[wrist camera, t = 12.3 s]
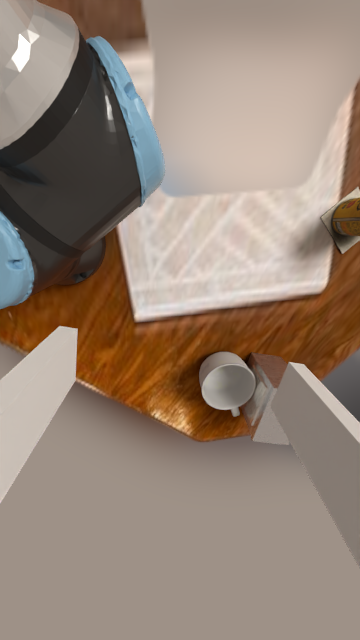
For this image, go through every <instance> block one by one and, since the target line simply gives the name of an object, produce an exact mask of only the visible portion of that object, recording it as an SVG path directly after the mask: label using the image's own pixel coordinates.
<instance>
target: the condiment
mask: <svg viewBox="0 0 360 640" xmlns="http://www.w3.org/2000/svg"><path fill="white" fill-rule="evenodd" d="M321 218H322V220H323V222H324V224H325V226H326V227H327V229H328V231H329V232H330V234H331V236H332V237H333V239H334V240H335V242H336V244H337V246H338V247H339V249H340V250H341V252H342V254H343V253H344V252H345V251H346V250H348V249H349V248H350V247H351V246H353V245H354V244H355V243H356V242H358V241H359V240H360V191H359V188H358V187H357V188H356V189H355V190H353V191H352V192H351V193H350V194H348V195H347V196H346V197H345V198H343V199H342V200H341V201H340V202H338V203H337V204H336V205H335V206H334V207H332V208H331V209H330V210H329V211H328V212H327V213H325V214H324V215H323V216H322V217H321Z"/></svg>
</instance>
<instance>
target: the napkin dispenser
mask: <svg viewBox="0 0 360 640" xmlns="http://www.w3.org/2000/svg"><path fill="white" fill-rule="evenodd" d="M247 367H248V368H249V369H250V370H251V371H252V373H253V374H254V376H255V379H256V388H255V391H254V393H253V395H252V397H251V398H250V399H249V400H248V401H247V402H246V403H244V404H243V405H241V406H240V407H241V410H242V412H243V415H244V417H245V420H246V423H247V425H248V428H249V430H250V433H251V435H252V436H251V439H252V441H257V442H266V443H275V444H283V445H289V443H290V441H289V440H288V438H287V436H286V434H285V432H284V430H283V429H282V427H281V425H280V423H279V421H278V420H277V418H276V416H275V414H274V412H273V411H272V409H271V407H270V406H271V403H272V401H273V399H274V396H275V394H276V392H277V389H278V387H279V384H280V382H281V380H282V377H283V375H284V373H285V370H286V368H287V364H286V363H285V361H284V360H283V359H282V358H281V357H277V356H271V355H264V354H258V353H252V352H251V355H250V357H249V360H248V363H247Z"/></svg>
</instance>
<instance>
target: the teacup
mask: <svg viewBox="0 0 360 640" xmlns="http://www.w3.org/2000/svg"><path fill="white" fill-rule="evenodd" d="M199 381H200V386H201V391H202V396H203V398H204V400H205V401H206V402H207V404H209V405H210V406H212V407H213V408H216V409H220V410H228V409H231V412H232V415H233V416H238V415H240V412H239V409H238V407H239V406H241V405H243V404H244V403H246V402H247V401H248V400H249V399H250V398H251V397H252V395H253V393H254V391H255V388H256V379H255V376H254V374H253V373H252V371H251V370H250V369H249V368H248V367H247V365H246V364H245V363H244V361H243V360H242V359H241V358H240V357H239V356H237V355H235V354H233V353H230V352H218V353H215V354H212V355H210V356H209V357H208V358H207V359H205V361H204V362H203V363H202V365H201V367H200V371H199Z"/></svg>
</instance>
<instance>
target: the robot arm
mask: <svg viewBox="0 0 360 640" xmlns="http://www.w3.org/2000/svg"><path fill="white" fill-rule="evenodd" d="M164 175H165V162H164V157H163V153H162V149H161V146H160V143H159V140H158V137H157V134H156V131H155V129H154V126H153V124H152V121H151V119H150V116H149V114H148V112H147V110H146V107H145V105H144V103H143V101H142V99H141V97H140V96H139V95H138V94H137V93H136V90H135V87H134V85H133V83H132V80H131V78H130V76H129V74H128V72H127V70H126V68H125V66H124V64H123V63H122V61H121V59H120V58H119V56H118V55H117V53H116V52H115V51H114V49H113V48H112V47H111V45H110V44H109V43H108V42H107V41H106V40H105V39H103V38H102V37H100V36H97V37H95V38H89V39H87V40H86V41H85V39H84V38H83V36H82V34H81V32H80V31H79V29H78V27H77V25H76V24H75V22H74V20H73V19H72V17H71V16H70V15H68V14H67V13H64V12H62V11H59V10H57V9H54V8H51V7H49V6H46V5H44V4H41V3H39V2H38V1H37V0H0V309H3V308H6V307H8V306H11V305H18V304H19V303H22V302H23V301H25V300H26V299H27V298H28V297H30V296H32V295H34V294H36V293H38V292H39V291H41V290H43V289H45V288H47V287H49V286H51V285H53V284H58V285H71V284H76V283H79V282H82V281H84V280H85V279H87V278H89V277H90V276H91V275H93V274H94V273H95V272H96V271H97V270H98V268H99V267H100V265H101V263H102V261H103V259H104V255H105V248H106V243H105V235H106V234H107V233H108V232H109V231H111V230H112V229H113V228H114V227H115V226H116V225H118V224H119V223H120V222H121V221H122V220H123V219H125V218H126V217H127V216H128V215H129V214H130V213H132V212H133V211H134V210H135V209H136V208H137V207H141V206H142V205H143V204H144V202H145V200H146V199H147V198H148V197H149V196H150V195H151V194H152V193H153V192H154V191H155V190H156V189H157V188H158V187H159V186H160V185H161V183H162V180H163V177H164ZM77 330H78V329H75V328H69V327H62V326H59V327H58V328H57V329H56V330H55V331H54V332H52V333H51V334H50V335H49V336H48V337H47V338H46V339H45V340H44V341H43V342H42V343H40V344H39V345H38V346H37V347H36V348H35V349H34V350H33V351H32V352H31V353H30V354H28V355H27V356H26V357H25V358H24V359H23V360H22V361H21V362H20V363H19V364H18V365H16V366H15V367H14V368H13V369H12V370H11V371H10V372H9V373H8V374H7V375H5V376H4V377H3V378H2V379H1V380H0V503H1V501H2V500H3V498H4V497H5V495H6V493H7V491H8V490H9V488H10V487H11V485H12V483H13V482H14V480H15V479H16V477H17V475H18V474H19V472H20V470H21V468H22V467H23V465H24V464H25V462H26V460H27V459H28V457H29V455H30V454H31V452H32V451H33V449H34V447H35V445H36V444H37V442H38V441H39V439H40V438H41V436H42V434H43V432H44V431H45V429H46V428H47V426H48V424H49V423H50V421H51V419H52V418H53V416H54V414H55V413H56V411H57V410H58V408H59V406H60V405H61V403H62V401H63V400H64V398H65V396H66V395H67V393H68V392H69V390H70V388H71V387H72V385H73V383H74V382H75V377H76V353H77ZM270 407H271V409H272V411H273V412H274V414H275V416H276V418H277V420H278V421H279V423H280V425H281V427H282V429H283V430H284V432H285V434H286V436H287V438H288V440H289V441H290V443H291V445H292V447H293V448H294V450H295V452H296V454H297V455H298V458H299V459H300V461H301V463H302V465H303V467H304V468H305V470H306V472H307V474H308V476H309V477H310V479H311V481H312V483H313V485H314V487H315V488H316V490H317V492H318V494H319V496H320V497H321V499H322V501H323V503H324V505H325V506H326V508H327V510H328V512H329V514H330V515H331V517H332V519H333V521H334V523H335V525H336V526H337V528H338V530H339V532H340V533H341V535H342V537H343V539H344V541H345V543H346V544H347V546H348V548H349V550H350V552H351V553H352V555H353V557H354V559H355V560H356V562H357V564H358V566H359V568H360V423H359V422H358V421H357V420H356V419H355V418H354V416H353V415H352V414H351V413H350V412H349V411H348V410H347V409H346V408H345V407H344V406H343V405H342V404H341V403H340V402H339V401H338V400H337V399H336V398H335V397H334V396H333V395H332V394H331V393H330V391H329V390H328V389H327V388H326V387H325V386H324V385H323V384H322V383H321V382H320V381H319V380H318V379H317V378H316V377H315V376H314V375H313V374H312V373H311V372H310V371H309V370H308V369H307V367H306V366H305V365H304V364H298V363H292V362H289V363H288V365H287V368H286V370H285V373H284V375H283V377H282V380H281V382H280V384H279V387H278V389H277V392H276V394H275V396H274V399H273V401H272V403H271V406H270Z"/></svg>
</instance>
